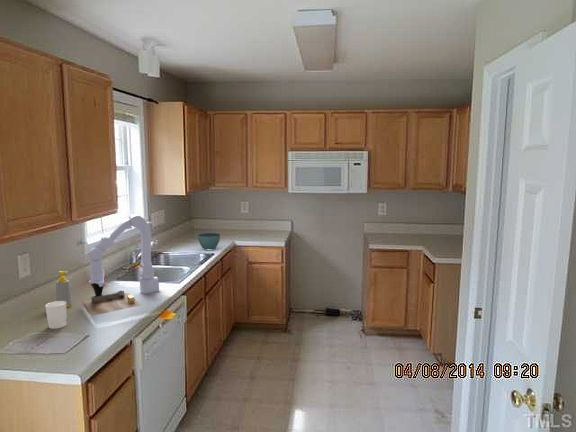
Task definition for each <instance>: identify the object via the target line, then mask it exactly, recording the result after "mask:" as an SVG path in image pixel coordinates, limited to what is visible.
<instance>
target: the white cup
mask: <svg viewBox="0 0 576 432" xmlns="http://www.w3.org/2000/svg"><path fill="white" fill-rule="evenodd" d="M44 306H45V313H46V317H47V318H46V319H47V322H48V323H47V324H48V328H49V329H51V330H53V329H54V330H55V329H56V330H57V329H61V328H63V327H65V326H66V325H67V318H68V317H67V308H66V302H65V301H50V302H48V303H46V304H45V305H44Z"/></svg>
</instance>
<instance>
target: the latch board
mask: <svg viewBox="0 0 576 432" xmlns="http://www.w3.org/2000/svg"><path fill="white" fill-rule="evenodd" d="M124 295H125V296H124V297H122V298H115V299H109V300H104V301H99V302H94V303H92V302H91V299H88V300H82V302H83V303H84V306H86V308H87V309H88V312H89V313H90V314H91V315H92V316H96V315H102V314H105V313H110V312H116V311H120V310H126V309H130V308H131V309H132V308H134V307H135V308H136V307H140V306H142V304H141V303H140V302H139V301H137V299H135V303H129V302H128V299H127V296H130V295H131V294H130V293H129V292H126V293H125V292H124Z"/></svg>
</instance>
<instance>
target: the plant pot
mask: <svg viewBox="0 0 576 432" xmlns="http://www.w3.org/2000/svg"><path fill="white" fill-rule="evenodd" d="M197 239H198V243H199V245H200V247H201V248H202V249H203V248H204V249H214V248H215V249H216V248H217V246H218V245H219V243H220V240H221V234H220V233H216V232H215V233H214V232H204V233H199V234H197ZM204 249H203V250H204ZM215 249H214V250H215Z"/></svg>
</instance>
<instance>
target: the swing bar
mask: <svg viewBox="0 0 576 432" xmlns="http://www.w3.org/2000/svg"><path fill="white" fill-rule="evenodd" d="M124 293H125V291H124V290H119V291H116V292H115V291H114V292H109V293H104V294H103V293H102V295H97V296H96V295H92V296H91V297H90V300H91V302H92V303H94V302H99V301H104V300H109V299H115V298H122V297H124V296H125V295H124Z"/></svg>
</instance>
